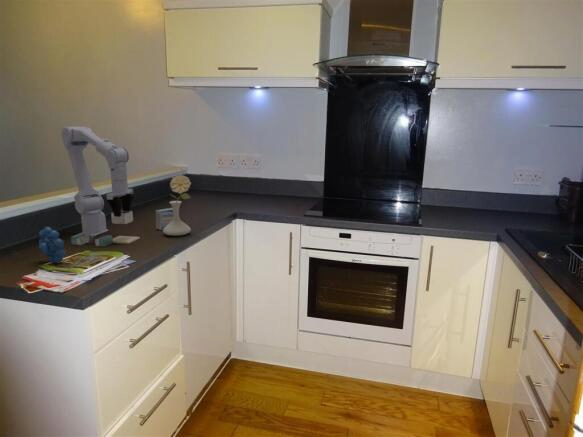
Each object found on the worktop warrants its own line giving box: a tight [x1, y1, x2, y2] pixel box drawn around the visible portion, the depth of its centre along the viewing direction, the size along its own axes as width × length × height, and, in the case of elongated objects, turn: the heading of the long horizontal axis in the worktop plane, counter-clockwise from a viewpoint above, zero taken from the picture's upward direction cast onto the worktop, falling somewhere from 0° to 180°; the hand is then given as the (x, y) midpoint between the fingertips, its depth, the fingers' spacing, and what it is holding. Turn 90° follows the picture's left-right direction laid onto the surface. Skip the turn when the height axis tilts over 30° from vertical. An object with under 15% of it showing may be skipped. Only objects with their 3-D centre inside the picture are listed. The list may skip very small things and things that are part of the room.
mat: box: [112, 235, 141, 245], centre depth 169 cm, size 8×9×1 cm
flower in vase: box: [162, 174, 192, 237], centre depth 175 cm, size 13×11×25 cm
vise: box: [70, 233, 114, 247], centre depth 163 cm, size 5×14×3 cm, turn 79°
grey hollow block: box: [110, 210, 134, 225], centre depth 167 cm, size 6×6×4 cm
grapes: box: [38, 226, 66, 263], centre depth 139 cm, size 12×7×12 cm, turn 62°
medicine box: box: [154, 207, 173, 231], centre depth 187 cm, size 8×4×9 cm, turn 137°
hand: (122, 214), depth 166 cm, fingers closed on grey hollow block, 6 cm apart
